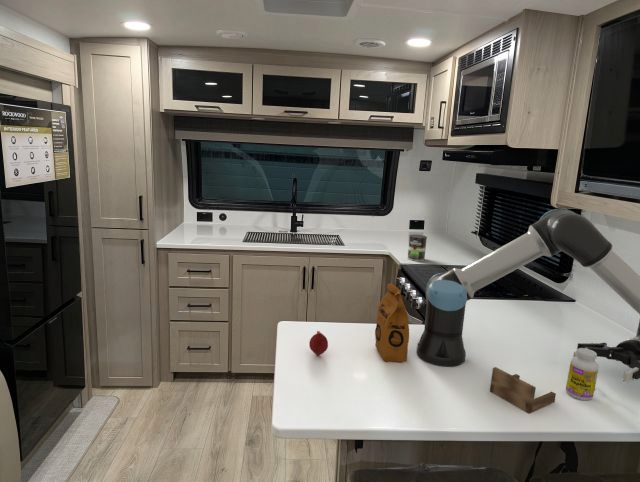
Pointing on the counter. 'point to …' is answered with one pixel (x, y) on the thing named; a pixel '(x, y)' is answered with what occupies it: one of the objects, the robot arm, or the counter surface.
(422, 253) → the coffee can
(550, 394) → the u-shaped wooden bracket
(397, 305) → the coffee package
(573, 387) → the supplement bottle
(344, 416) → the counter surface
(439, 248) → the counter surface
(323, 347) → the onion
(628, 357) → the robot arm
